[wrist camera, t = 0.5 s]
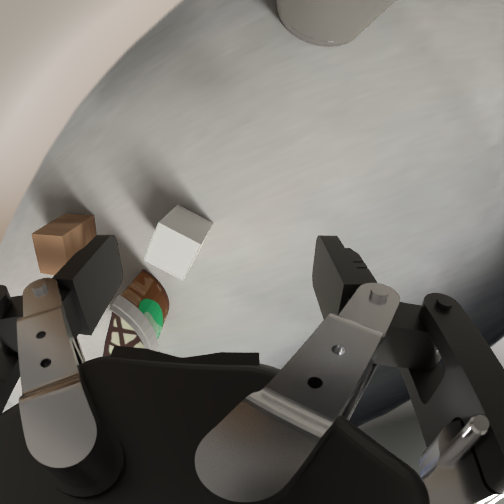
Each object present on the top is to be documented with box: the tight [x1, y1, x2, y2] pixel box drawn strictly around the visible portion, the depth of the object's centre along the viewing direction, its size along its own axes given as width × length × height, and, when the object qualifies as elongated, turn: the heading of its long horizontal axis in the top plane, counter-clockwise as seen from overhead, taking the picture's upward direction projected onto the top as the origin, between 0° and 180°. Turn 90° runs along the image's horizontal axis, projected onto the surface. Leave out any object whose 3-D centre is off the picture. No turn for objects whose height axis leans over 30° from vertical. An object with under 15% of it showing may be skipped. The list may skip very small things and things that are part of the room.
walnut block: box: [32, 214, 97, 275], centre depth 32 cm, size 5×5×7 cm
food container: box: [103, 270, 169, 356], centre depth 35 cm, size 12×6×10 cm, turn 154°
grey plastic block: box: [144, 205, 213, 281], centre depth 32 cm, size 4×4×6 cm
